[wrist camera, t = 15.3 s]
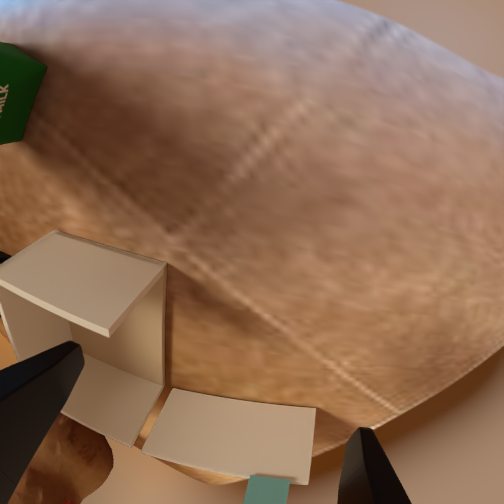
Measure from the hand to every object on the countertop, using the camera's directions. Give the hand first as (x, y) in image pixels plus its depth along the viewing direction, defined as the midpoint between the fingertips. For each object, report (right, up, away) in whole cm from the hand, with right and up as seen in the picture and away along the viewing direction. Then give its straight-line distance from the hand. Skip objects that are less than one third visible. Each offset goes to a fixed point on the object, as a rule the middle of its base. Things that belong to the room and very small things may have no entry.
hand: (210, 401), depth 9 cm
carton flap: (0, -9, +19) cm, 21 cm away
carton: (-11, -1, +18) cm, 21 cm away
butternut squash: (-23, -19, +29) cm, 42 cm away
